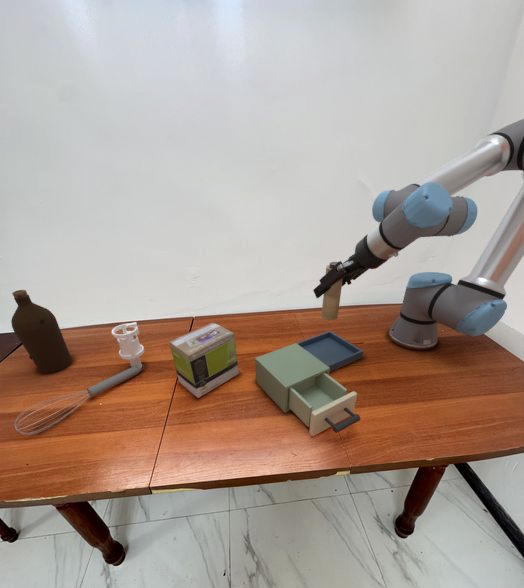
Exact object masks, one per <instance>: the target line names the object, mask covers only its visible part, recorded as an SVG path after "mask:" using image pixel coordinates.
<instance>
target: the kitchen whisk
mask: <svg viewBox="0 0 524 588" xmlns="http://www.w3.org/2000/svg"><path fill="white" fill-rule="evenodd" d="M140 366H141V365H140ZM144 368H145V366H142V368H141V369H140V368H139V367H138V366H135V367H134V366H133V367H131V366H130V368H127V369H125V370H123V371H121V372H119V373H117V374H114V375H112V376H111V377H109V378H107V379H104V380H103V381H100V382H98V383H96V384H94V385H92V386H90V387H88V388H87V389H86V390H84V391H83V390H82V391H77V392H74V393H72V394H71V393H69V394H65V395H61V396H56V397H54V398H53V397H52V398H50V399H47V400H43V401H41V402H39V403H36V404H34V405H32V406H30V407H28V408H27V409H25V410H23V411H22V412H20V414H19V415H18V416H16V420H15V421H14V427H15V430H16V431H18V433H20V434H23V435H27V436H29V435H31V434H32V435H35V434H39V433H40V432H44V431H46V430H47V429H49V428H51V427H53V426H55V425H56V424H57V423H59V422H61V421H62V420H63V419H65V418H66V417H67V416H69V415H71V413H72V412H74V411H76V408H79V407H80V406H81V405H82V404H83V403H85V401H87V400H88V399H89V398H90V397H91V398H94V397H96V396H98V395H100V394H101V393H103V392H106V391H108V390H110V389H112V388H114V387H116V386H117V385H119V384H121V383H123V382H126V381H127V380H129V379H131V378H134V377H136V376H138V375H139V374H140V373H141V371H142V370H143V369H144ZM74 397H75V398H74ZM71 398H72V399H71ZM78 398H79V399H78ZM68 399H71V400H68ZM76 399H77V400H76ZM65 400H68V401H66V402H64V403H61V404H59V405H58V406H54V407H53V408H50V409H48V410H46V411H44V412H42V413H39V414H38V415H36V416H33V417H31V418H29V419H28V420H26V421H24V422H23V423H21V422H22V421H23V420H24V419H26V418H27V417H29V416H31V415H32V414H35V413H36V412H38V411H40V410H43V409H44V408H47V407H49V406H51V405H55V404H57V403H59V402H63V401H65ZM73 400H76V401H74V402H72V401H73ZM54 401H56V402H54ZM52 402H53V403H52ZM69 402H72V403H70V404H68V405H66V406H65V407H64V408H60V409H58V411H56V412H53V413H52V414H50V415H48V416H45V417H44V418H43V419H40V420H38V421H36V422H34V423H32V424H29V425H27V426H24V427H21V428H19V427H20V426H22V425H23V424H25V423H27V422H29V421H31V420H33V419H35V418H37V417H38V416H41V415H43V414H45V413H47V412H49V411H51V410H54V409H56V408H58V407H60V406H63V405H65V404H67V403H69ZM80 402H81V403H80ZM48 403H50V404H48ZM74 403H75V404H74ZM46 404H47V405H46ZM43 405H46V406H43ZM71 405H72V406H71ZM76 405H77V406H76ZM41 406H43V407H41ZM74 406H76V407H74ZM39 407H41V408H39ZM73 407H74V408H73ZM36 408H39V409H37V410H35V411H33V412H31V413H29V414H27V415H25V414H26V413H28V412H30V411H31V410H34V409H36ZM65 408H67V409H65ZM71 408H72V410H70V409H71ZM64 409H65V410H64ZM62 410H64V411H62ZM68 410H70V411H69V412H67V411H68ZM60 411H62V412H60ZM58 412H60V413H59V414H58V415H55V414H56V413H58ZM65 412H67V413H66V414H65V415H63V416H62V417H61V418H58V420H55V421H54V422H53V423H52V422H51V424H49V425H46V426H45V427H43V428H41V429H37V430H36V431H31V430H34V429H36V428H38V427H41V426H43V425H45V424H46V423H48V422H50V421H52V420H54V419H55V418H57V417H58V416H60V415H62V414H64V413H65ZM23 415H25V416H24V417H23V418H21V417H22V416H23ZM53 415H55V416H54V417H53V418H51V419H49V420H47V421H45V422H43V423H41V424H40V425H39V424H38V425H37V426H34V427H33V428H29V429H25V428H28V427H31V426H33V425H35V424H37V423H39V422H41V421H43V420H45V419H47V418H49V417H50V416H53ZM20 418H21V420H19V419H20ZM18 420H19V422H18V423H17V421H18ZM24 429H25V430H24ZM21 430H24V432H23V431H21ZM27 431H31V432H30V433H29V432H27Z"/></svg>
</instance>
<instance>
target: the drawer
mask: <svg viewBox="0 0 524 588" xmlns="http://www.w3.org/2000/svg"><path fill="white" fill-rule="evenodd" d="M357 398H358V392H356V391H355V390H353V391H351V392H348V389H347V388H346V387H344V386H343V385H342V384H341V383H340V382H338V380H337V381H336V379H334V378H333V377H332V376H330V374H329V375H328V374H326V373H322V374H320V375H318V376H316V377H313V378H311V379H309V380H307V381H304V382H302V383H300V384H297V385H295V386H293V387H291V388H288V407H289V408H290V409H291V410H290V411H292V412H293V413H294V415H295V416H297V417H298V418H299V419H300V420H301V422H302V423H303V424H305V426H306V427H307V428H309V434H310V436H311V437H314V436H317V435H318V434H320V433H322V432H324V431H325V430H327V429H329V428H331V429H332V432H334V434H338V433H339V432H342V431H344V430H346V429H347V428H349V427H351V426H352V425H354V424H356V423H357V422H359V421H361V416H360V415H359V413H354V412H355V407H356V404H357V403H356V402H357Z"/></svg>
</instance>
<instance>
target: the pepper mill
mask: <svg viewBox="0 0 524 588" xmlns="http://www.w3.org/2000/svg"><path fill="white" fill-rule="evenodd" d="M338 262H339V261H331V262H329V264H328V265H326V267H325V274H324V276H325V275H326V274H327V273H328V272H329V271H330V270H331V269H332V268H333V267H335V265H336V264H337V263H338ZM342 281H343V279H341V280H340V281H338V282H337V283H335V284H334V285H332V286H331V288H330V289H329V290H328V291H327V292H325V293H324V294H323V295H322V305H321V314H320V315H321V319H323V320H325V321H336V320H337V319H338V317H339V310H340V303H341V295H342V287H343V286H342Z"/></svg>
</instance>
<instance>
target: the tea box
mask: <svg viewBox="0 0 524 588" xmlns="http://www.w3.org/2000/svg"><path fill="white" fill-rule="evenodd" d="M168 343H169V347H170V348H169V349H170V352H171V356H172V360H173V363H174V367H175V371H176V376H177V379H178V382H179V383H180V385H182V386H183V387H184V388H185V389H186V390H187V391H188V392H190V393H191V394H192V395H193V396H195V397H196V398H197V399H199V398H201V397H203V396H205V395H206V394H208V393H209V392H210V391H212V390H214V389H216V388H218V387H219V386H221V385H224V384H225V383H226V382H228V381H229V380H232V379H233V378H235V377H237V376H238V375H240V374H239V373H240V372H239V371H240V369H239V363H238V353H237V346H236V345H237V344H236V337H235V333H234V332H233V331H232V330H229V329H227V328H225V327H223V326H222V325H219V324H218V323H215V321H214V322H209V323H208V324H206V325H203V326H201V327H199V328H197V329H195V330H192V331H190V332H188V333H185V334H184V335H181V336H179V337H176V338H175V339H173V340H170V341H168Z"/></svg>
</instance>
